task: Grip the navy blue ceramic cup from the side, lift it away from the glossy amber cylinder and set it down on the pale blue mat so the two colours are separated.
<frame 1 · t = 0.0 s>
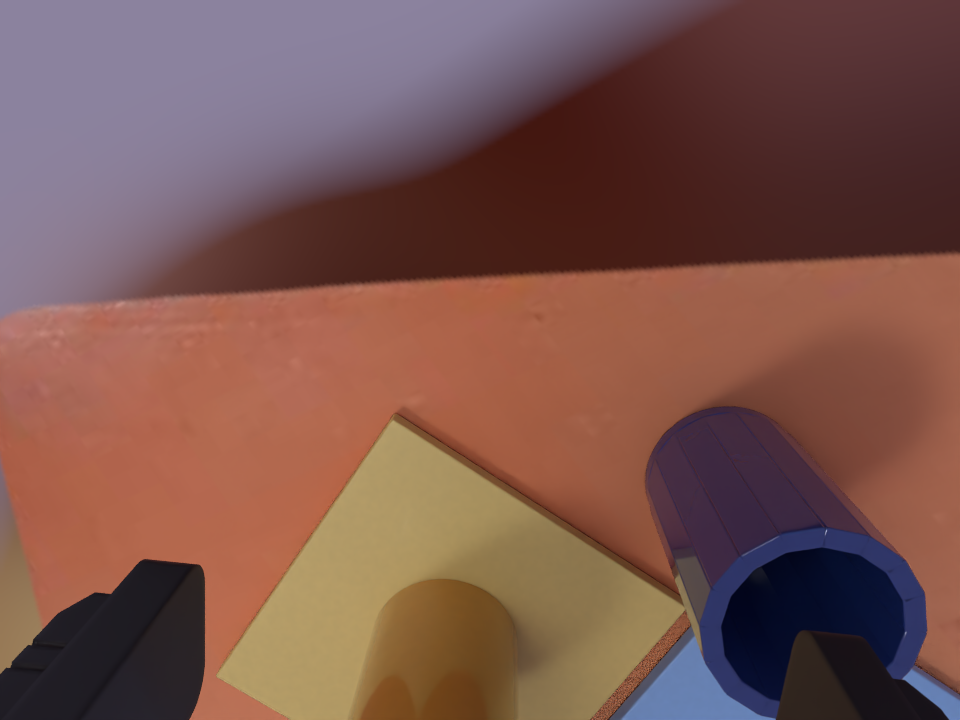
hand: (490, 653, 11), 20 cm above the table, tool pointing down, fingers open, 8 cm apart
mustard mat: (446, 632, 34), on the table
glossy amber cylinder: (444, 643, 33), point 1 cm above the table, touching mustard mat
navy cup: (722, 478, 32), on the table
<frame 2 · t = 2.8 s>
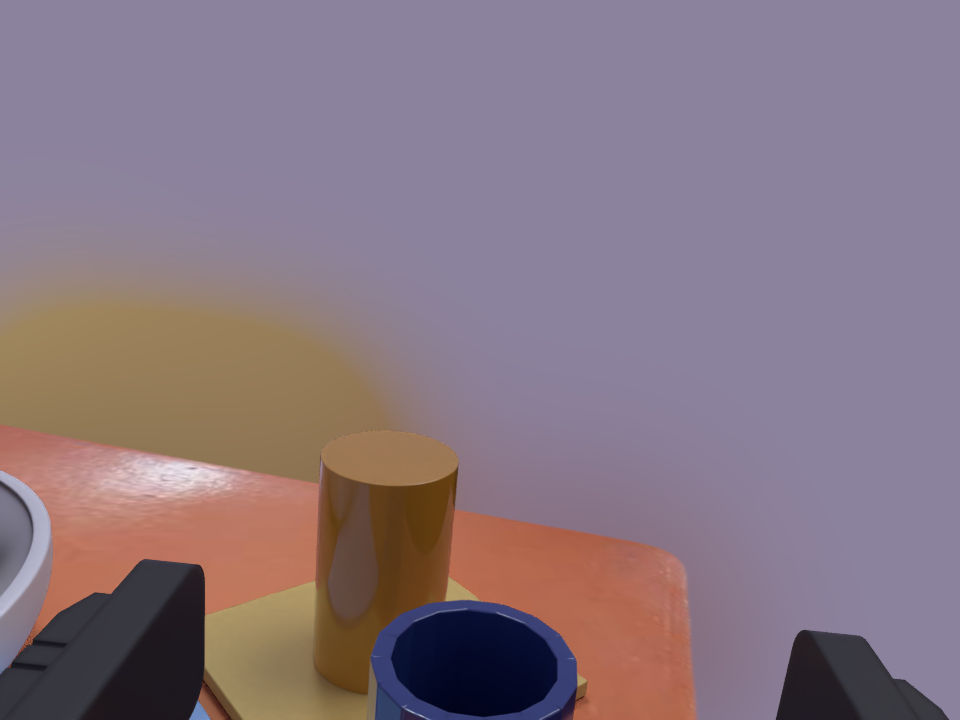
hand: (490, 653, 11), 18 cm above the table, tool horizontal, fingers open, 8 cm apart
mustard mat: (376, 666, 38), on the table
glossy amber cylinder: (377, 652, 38), point 1 cm above the table, touching mustard mat
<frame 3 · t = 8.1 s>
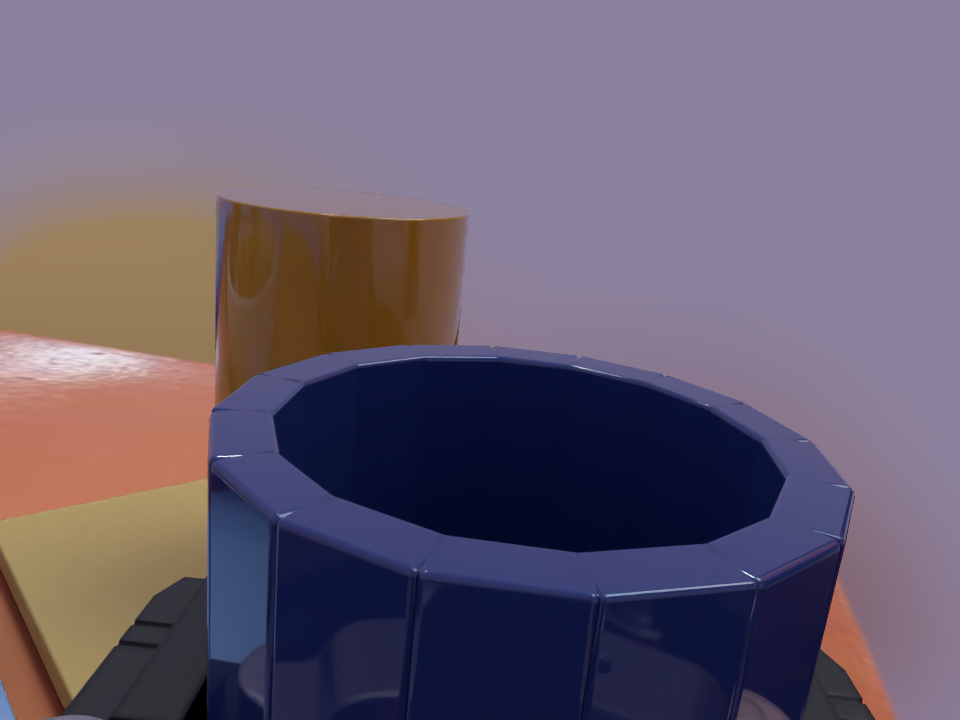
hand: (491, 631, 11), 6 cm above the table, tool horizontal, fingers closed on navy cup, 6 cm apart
mustard mat: (327, 592, 23), on the table
glossy amber cylinder: (328, 567, 22), point 1 cm above the table, touching mustard mat
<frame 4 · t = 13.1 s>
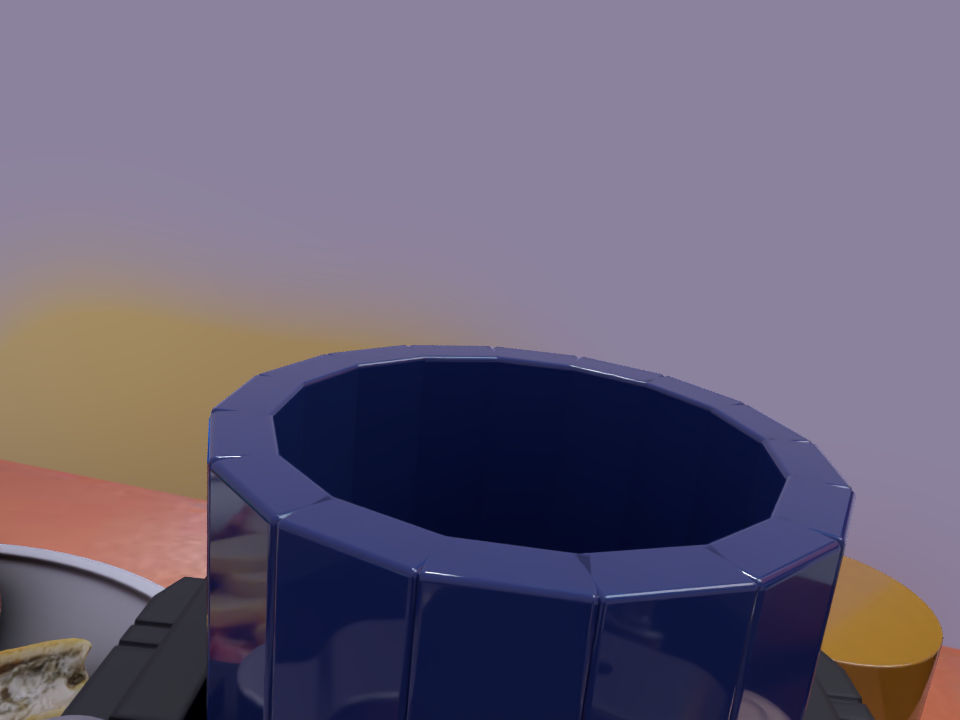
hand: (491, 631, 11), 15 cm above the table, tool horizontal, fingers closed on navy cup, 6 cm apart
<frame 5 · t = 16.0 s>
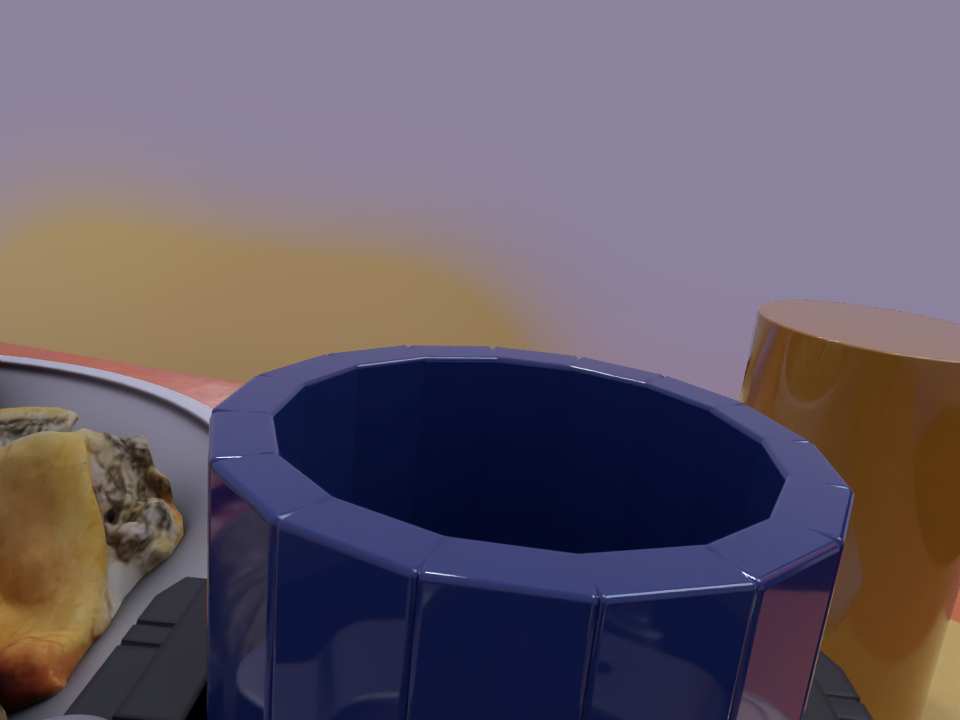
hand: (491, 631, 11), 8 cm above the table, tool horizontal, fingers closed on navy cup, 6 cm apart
mustard mat: (796, 696, 23), on the table
glossy amber cylinder: (802, 672, 23), point 1 cm above the table, touching mustard mat
when the fingers open (8 cm above the table, at t = 18.6 s): navy cup drops 1 cm, resting on blue mat.
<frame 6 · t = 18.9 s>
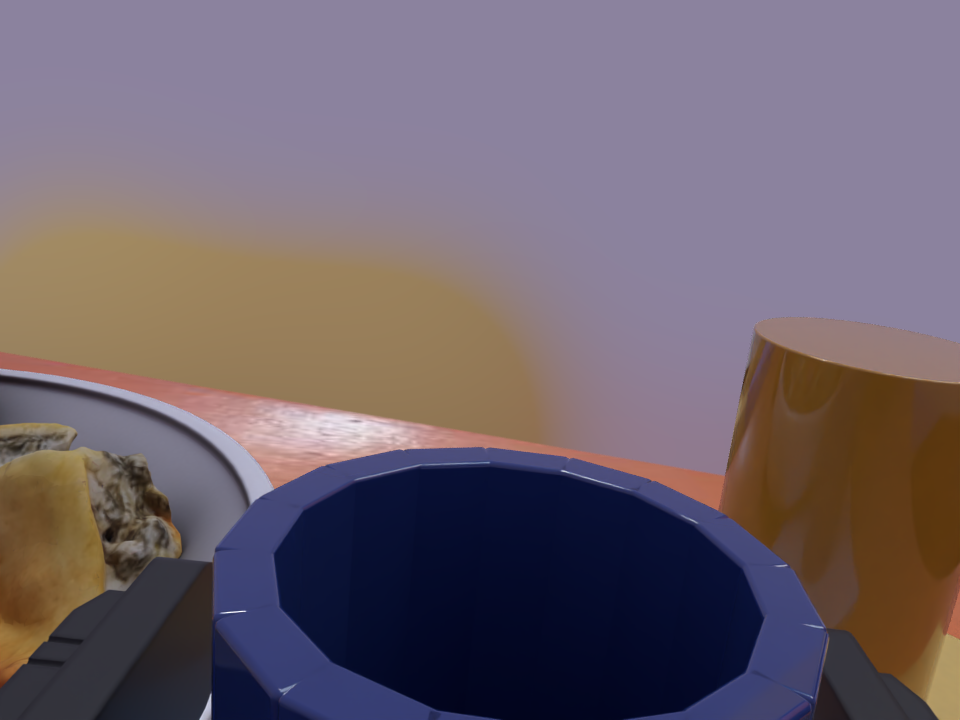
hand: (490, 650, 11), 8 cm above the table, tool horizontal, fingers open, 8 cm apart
mustard mat: (793, 712, 23), on the table
glossy amber cylinder: (798, 688, 23), point 1 cm above the table, touching mustard mat
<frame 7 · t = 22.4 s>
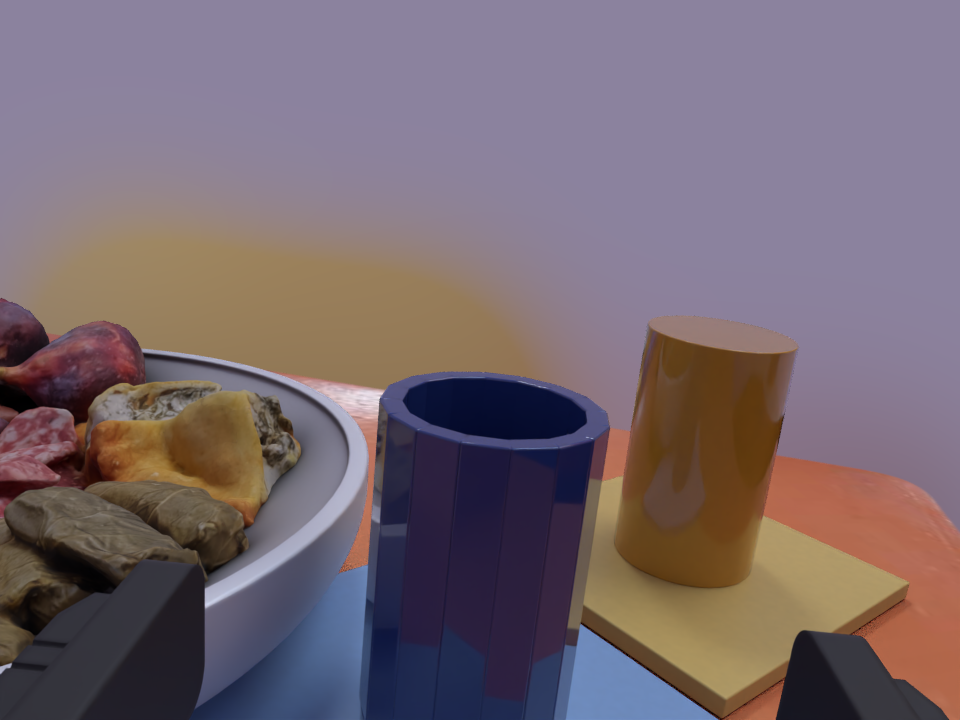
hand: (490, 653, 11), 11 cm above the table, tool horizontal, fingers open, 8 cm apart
mustard mat: (678, 567, 36), on the table
glossy amber cylinder: (681, 551, 36), point 1 cm above the table, touching mustard mat
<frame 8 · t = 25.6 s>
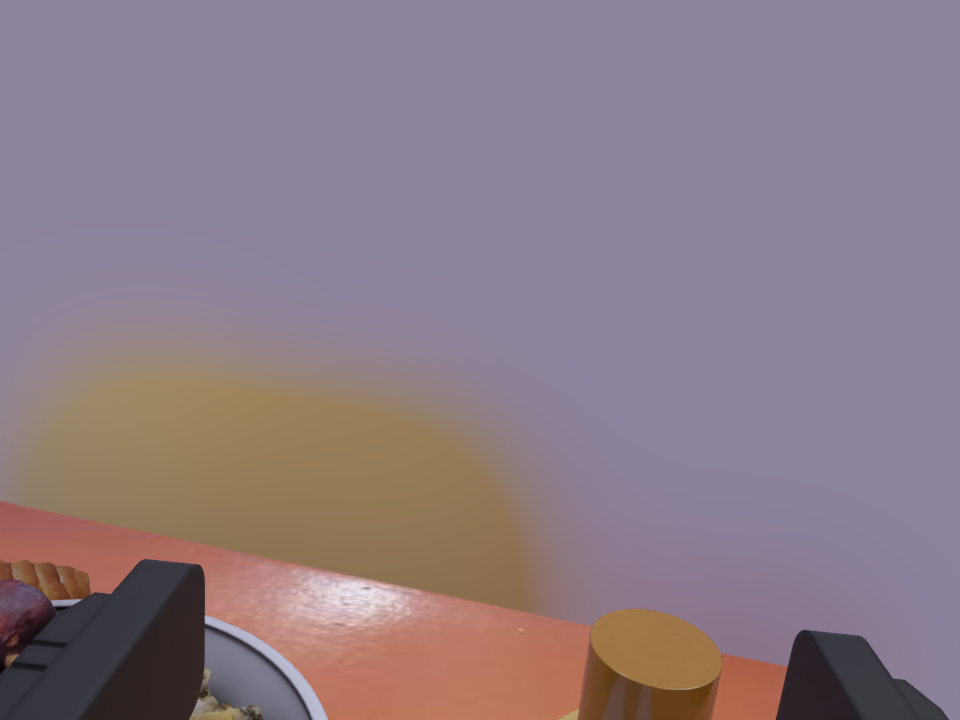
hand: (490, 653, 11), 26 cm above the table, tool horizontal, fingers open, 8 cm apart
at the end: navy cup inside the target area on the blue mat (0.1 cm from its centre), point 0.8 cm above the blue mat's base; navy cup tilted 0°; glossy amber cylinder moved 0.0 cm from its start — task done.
